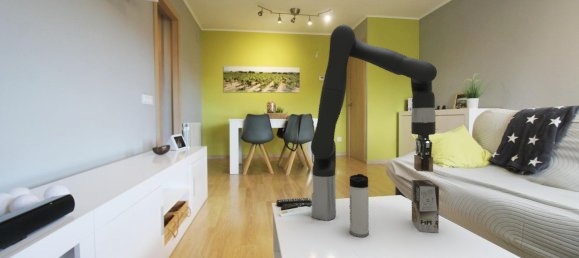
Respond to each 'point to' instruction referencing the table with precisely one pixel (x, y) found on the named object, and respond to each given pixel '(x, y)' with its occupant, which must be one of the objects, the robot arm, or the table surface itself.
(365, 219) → the travel mug
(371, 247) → the table surface
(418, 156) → the walnut block
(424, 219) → the coffee box
